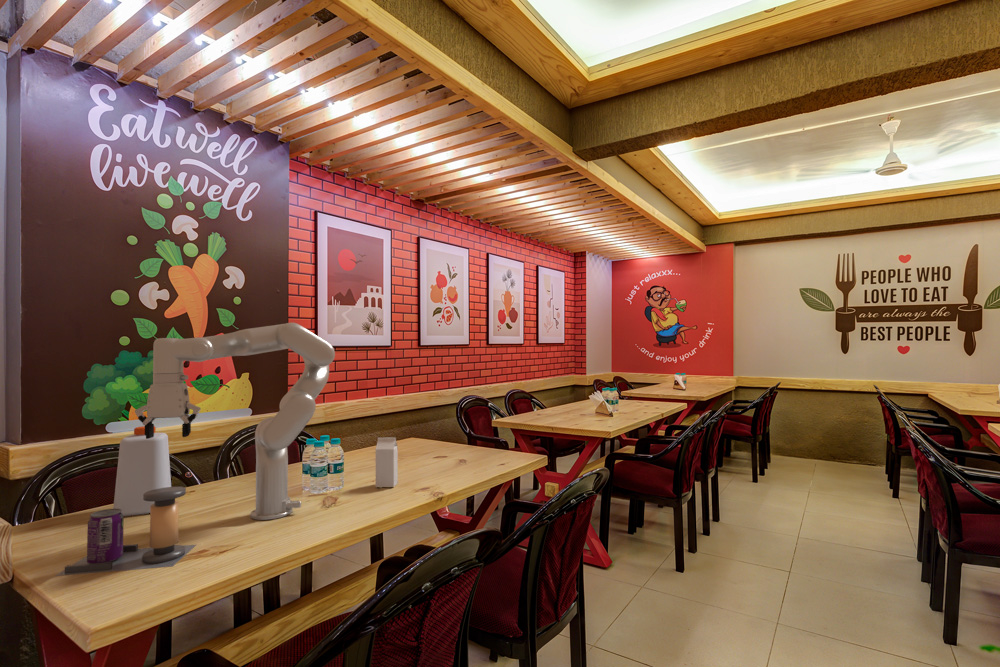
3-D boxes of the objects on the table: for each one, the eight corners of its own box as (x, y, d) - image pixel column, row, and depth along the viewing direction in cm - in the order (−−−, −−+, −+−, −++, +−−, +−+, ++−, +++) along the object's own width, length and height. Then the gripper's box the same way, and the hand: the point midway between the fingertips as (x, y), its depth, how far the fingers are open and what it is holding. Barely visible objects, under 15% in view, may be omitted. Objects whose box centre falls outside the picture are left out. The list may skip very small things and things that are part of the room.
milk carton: (393, 488, 193) (393, 439, 193) (375, 488, 193) (375, 439, 194) (397, 483, 200) (397, 435, 201) (380, 483, 200) (380, 436, 201)
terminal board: (197, 549, 134) (197, 538, 134) (172, 571, 120) (172, 560, 120) (92, 556, 130) (92, 546, 130) (54, 580, 116) (55, 569, 116)
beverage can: (130, 555, 127) (130, 508, 128) (105, 567, 120) (106, 517, 121) (104, 554, 128) (105, 507, 128) (78, 566, 121) (80, 516, 121)
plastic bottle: (109, 519, 160) (110, 431, 161) (123, 506, 173) (124, 425, 175) (164, 512, 166) (166, 428, 167) (174, 500, 179) (175, 422, 181)
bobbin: (191, 548, 132) (191, 485, 132) (175, 562, 123) (176, 495, 123) (153, 551, 130) (154, 487, 131) (134, 565, 121) (135, 497, 122)
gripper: (205, 378, 153) (204, 433, 153) (142, 379, 150) (142, 436, 149) (194, 379, 146) (194, 438, 145) (129, 380, 143) (128, 440, 142)
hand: (167, 437), depth 147 cm, fingers open, 9 cm apart
